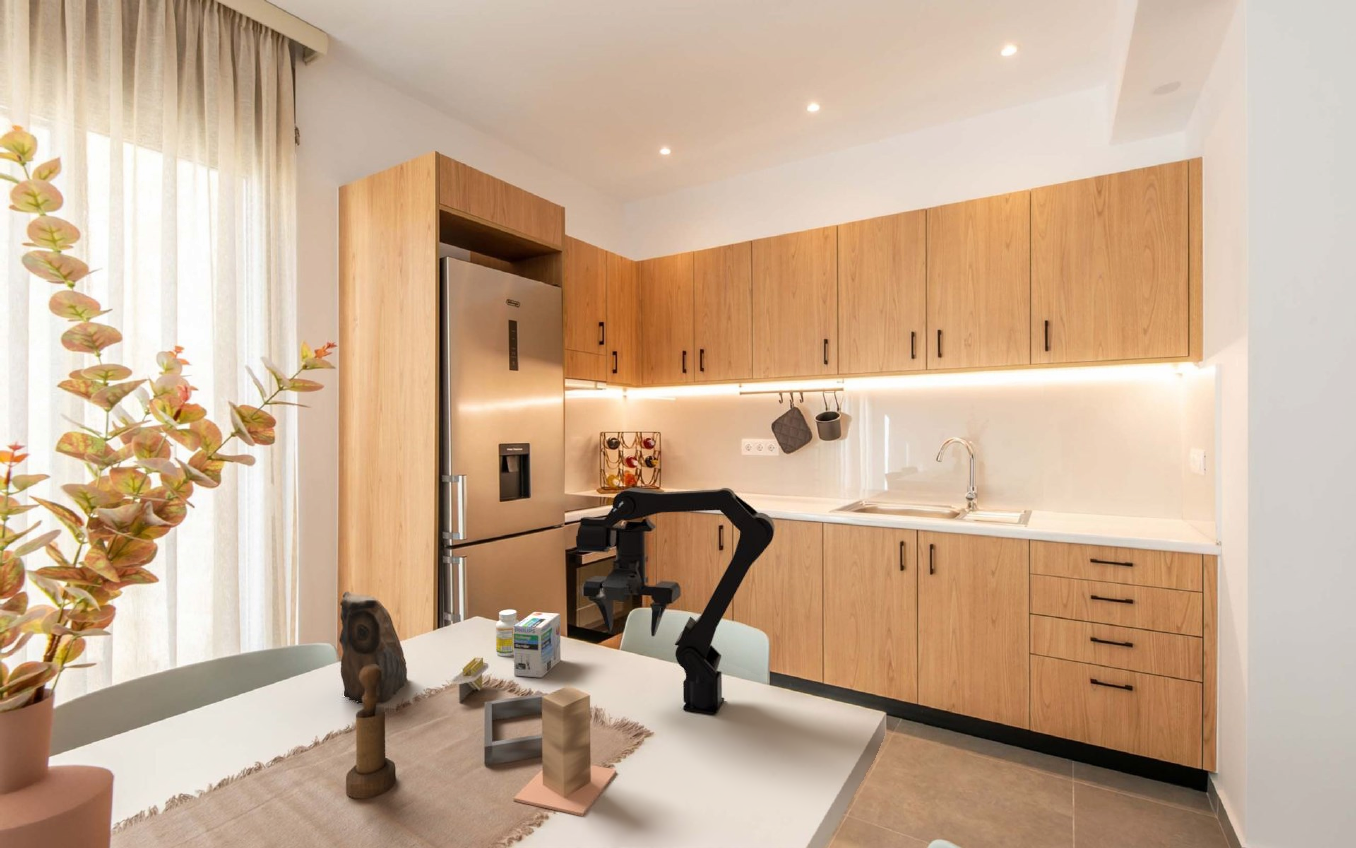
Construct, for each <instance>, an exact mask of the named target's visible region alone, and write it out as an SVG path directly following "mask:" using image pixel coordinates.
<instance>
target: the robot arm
mask: <svg viewBox="0 0 1356 848" xmlns="http://www.w3.org/2000/svg"><path fill="white" fill-rule="evenodd" d="M706 511H709V512H710V511H720V512H721V513H722V514H723V515H724V516H725V517H726V518H727V519H728V520H729V522H731V524H732V525H733V526H734V527H735V528H736V529H737V530H738V531H740V535H739V539H738V541H737V544H736V548H735V551H734V554H733V556H732V558H731V559H730V562H729V564H728V565H727V567H726V569H725V571H724V573H723V575H722V576H721V579H720V580H719V582H718V583H717V585H716V587H715V590H714V591H713V593H712V594H711V597H710V598H709V600H708V602H707V603H706V606H705V608H704V609H703V611H702V613H701V614H700V616H699V617H698V618H697V619H694V618H693V616H690V617H689V618H688V620H687V621H686V623H685V625H684V627H683V630H682V631H681V632H680V634H679V636H678V638H677V639H676V641H675V644H674V645H675V646H677V647H676V650H675V659H676V662H677V663H678V665H679V666H680V667H681V668H682V669H683V671H684V673H685V679H684V680H683V682H682V684H683V686H682V687H683V690H682V691H683V698H682V699H683V703H684V705H683V707H682V710H683V711H688V712H693V713H694V712H695V713H701V714H706V715H707V714H708V715H717V714H718V712H719V711H720V709H721V707H722V705H723V704H724V702H725V697H723V696H722V694H723V688H722V687H723V686H722V685H723V684H722V683H723V682H722V679H723V678H722V677H723V676H722V671H719V670H718V669H719V665H720V662H721V659H722V655H721V654H720V652H719V651H718V650H717V649H716V648H715V647H714V646H713V645H712V643H713V640H714V637H715V633H716V631H717V628H718V626H719V624H720V622H721V621H722V619H723V617H724V615H725V613H726V611H727V610H728V608H729V606H730V604H731V602H732V601H733V598H734V597H735V595H736V593H737V591H738V590H739V588H740V586H741V584H742V582H743V581H744V579H745V577H746V575H747V573H748V571H749V569H750V568H751V566H752V565H753V564H754V563H755V562H756V561H757V560H758V559H759V557H760V556H761V555H762V554H763V553H764V551H765V550H766V549H767V548H768V546H769V545H770V544H771V542H772V541H773V538H774V534H775V529H776V528H775V527H776V526H775V523H774V521H773V519H772V518H771V517H770V516H769V515H768V514H766V513H764V512H758V511H757V510H756V509H754V507H753V506H751V505H750V504H749V503H747V502H746V501H745V500H743V499H742V498H741V497H739V496H738V495H737V494H736V493H735V492H734V490H732V489H731V488H728V487H723V488H719V489H704V490H703V489H700V490H683V491H682V490H680V491H657V490H654V489H648V488H641V487H629V488H627V489H624V490H621V491H619V492H617V494H616V495H615V496H614V498H613V500H612V508H611V509H610V511H609V513H607V515H606V516H605V518H604V517H592V516H583V517H581V518H580V519H579V520H580V522H579V523H580V524H579V526H578V529H577V535H576V536H575V544H576V549H577V550H578V552H583V553H585V552H587V553H609V552H610V550H611V548H614V547H615V559H614V560H613V561H612V569H611V572H610V573H609V574H608V575H607V576H605V575H594V576H592V577H590V578H589V579H587V580H584V582H583V584H582V586H581V593H582V594H581V595H582V597H587V599H588V600H589V601H591V602H593V603H594V604H596V605H597V607H598V610H599V611H600V613H601V616H602V619H603V622H604V624H605V627H606V630H607V632H612V630H613V626H614V625H613V624H614V601H617V602H619V603H625V602H628V601H629V600H630V597H631V596H632V595H637V596H650V598H651V600H652V602H651V603H650V604H649V605H650V609H651V621H650V622H651V623H650V625H651V626H650V631H651V632H650V633H651V637H654V636H655V637H656V634H657V631H658V629H659V626H660V623H661V621H662V617H663V615H664V612H665V610H666V608H667V607H668V606H669V605H670V604H673V603H674V602H676V601H677V600H678V599H679V598H681V594H682V593H681V590H682V588H681V586H680V584H679V583H678V581H669V580H668V581H666V580H665V581H664V580H660V581H659V582H657V583H656V584H655V585H651V584H650V585H649V584H648V585H647V583H648V582H649V577H648V576H647V573H646V571H647V569H646V563H647V562H648V561H649V560H648V559H649V556H648V555H646V532H649V533H650V532H652V531H653V530H654V529H656V527H657V526H656V525H655V524H654V523H653V522H652V521H650V519H649V518H648V517H650V516H653V515H657V514H661V513H680V512H681V513H683V512H706ZM641 518H643V519H642V521H641V520H640V521H637V519H641ZM633 520H636V521H633ZM622 521H626V523H625V525H624V524H623V525H617V524H618V523H620V522H622ZM615 545H616V546H615Z"/></svg>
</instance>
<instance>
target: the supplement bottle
mask: <svg viewBox="0 0 1356 848" xmlns="http://www.w3.org/2000/svg"><path fill="white" fill-rule="evenodd" d="M517 617H518V612H517V610H515V609H504V610H501V611H499V612H498V618H499V620H498V621H497V622H496V623H495V624H496V625H495V627H496V628H495V634H496V635H495V641H496V644H495V646H496V647H495V649H496V650H495V652H496V654H497V656H500V657H511V656H514V626H515V625H516V624H518V623H519V622H520V621H519V619H517Z"/></svg>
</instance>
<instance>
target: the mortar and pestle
mask: <svg viewBox="0 0 1356 848" xmlns="http://www.w3.org/2000/svg"><path fill="white" fill-rule="evenodd" d="M381 675H382V671H381V668H380V667H379V666H378V665H376V664H370V665H367V666H365V667H363V668H362V669H361V671H360V674H359V680H360V682H361V683H362V685H363V686H364V688H365V694H364V695H363V696H362V702H363V708H362V709H360V710H358V711H357V712H356V714H355V731H356V733H355V734H356V735H355V736H356V737H355V738H356V740H355V742H356V744H355V745H356V747H355V748H356V750H355V753H356V754H355V755H356V757H355V758H356V759H355V761H356V763H355V765H353V767H352V768H351V769H349V771H348V772H347V773H346V776H345V794H346V795H347V796H348V797H349V796H350V798H352V797H353V798H352V799H360V800H361V799H369V798H372V797H377V796H378V795H379V796H380V795H381V794H383V793H385V792H387V791H389V790H390V789H391V788H392V787H393V786H394V784H395V783H396V779H397V775H396V774H397V773H396V769H397V768H396V764H395V762H394V761H393V760H391V759H389V758H388V757H386V707H385V706H383V705H378V703H377V702H378V698H379V694H378V693H376V686H377V684H378V682H379V680H380V678H381Z"/></svg>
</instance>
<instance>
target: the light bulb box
mask: <svg viewBox="0 0 1356 848" xmlns="http://www.w3.org/2000/svg"><path fill="white" fill-rule="evenodd" d="M561 653H562V652H561V614H560V613H556V612H555V613H554V612H553V613H551V612H540V611H534V612H532V613H531V614H529V615H528V616H527V617H525V618H523V619H522V620H521V621H519V623H518V624H516V625H515V626H514V655H513V665H514V666H513V674H514V675H513V676H517V677H519V676H520V677H531V678H541V679H542V678H543V677H544V676H545V675H546V674H547V673H548V672H550V670H552V669H553V668H554V667H555V666H556V665H557V664H559V662H561V660H562V659H561V658H562V655H561Z"/></svg>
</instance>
